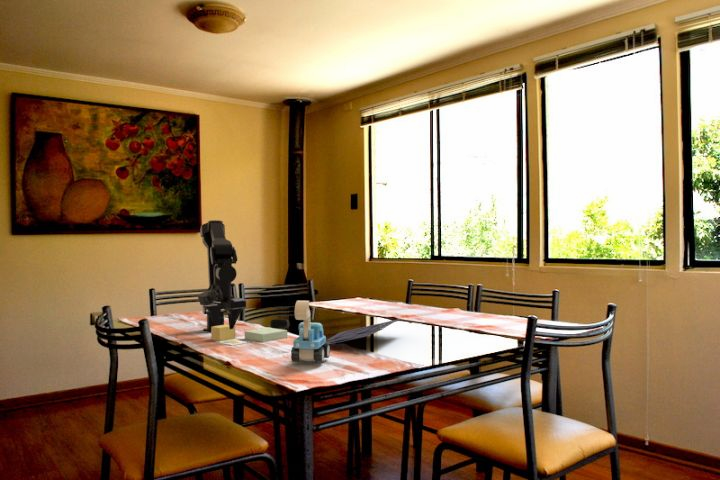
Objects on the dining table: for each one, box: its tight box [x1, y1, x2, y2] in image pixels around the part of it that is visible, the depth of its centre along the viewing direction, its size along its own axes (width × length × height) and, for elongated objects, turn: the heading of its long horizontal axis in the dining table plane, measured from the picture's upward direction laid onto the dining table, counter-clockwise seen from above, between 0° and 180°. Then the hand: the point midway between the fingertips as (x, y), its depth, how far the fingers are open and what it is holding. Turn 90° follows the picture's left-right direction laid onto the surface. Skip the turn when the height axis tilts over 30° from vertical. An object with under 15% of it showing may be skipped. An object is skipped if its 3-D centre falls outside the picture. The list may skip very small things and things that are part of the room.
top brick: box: [210, 324, 236, 342], centre depth 182 cm, size 5×6×4 cm
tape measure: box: [269, 318, 291, 330], centre depth 199 cm, size 7×7×4 cm
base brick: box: [244, 327, 288, 343], centre depth 182 cm, size 10×10×3 cm
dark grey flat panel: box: [326, 318, 401, 345], centre depth 177 cm, size 24×30×4 cm
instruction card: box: [217, 339, 248, 347], centre depth 175 cm, size 8×6×1 cm
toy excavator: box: [290, 300, 331, 363], centre depth 145 cm, size 9×17×17 cm, turn 170°
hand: (223, 327), depth 182 cm, fingers open, 9 cm apart
